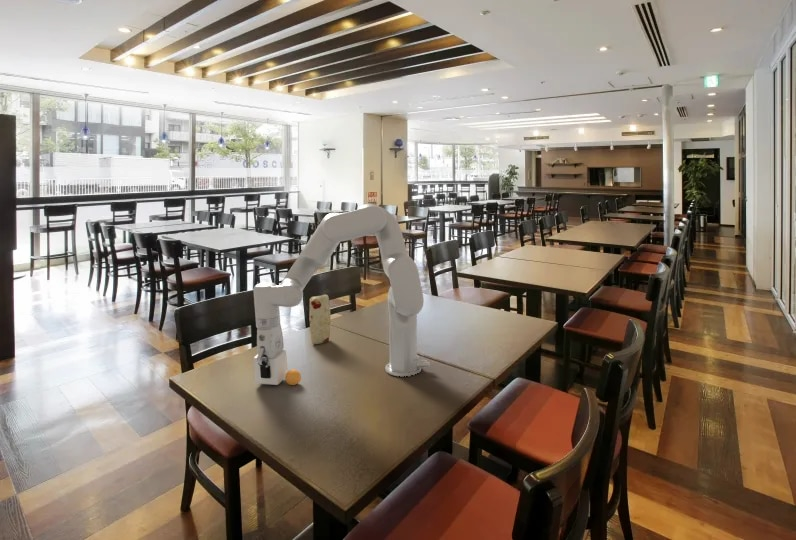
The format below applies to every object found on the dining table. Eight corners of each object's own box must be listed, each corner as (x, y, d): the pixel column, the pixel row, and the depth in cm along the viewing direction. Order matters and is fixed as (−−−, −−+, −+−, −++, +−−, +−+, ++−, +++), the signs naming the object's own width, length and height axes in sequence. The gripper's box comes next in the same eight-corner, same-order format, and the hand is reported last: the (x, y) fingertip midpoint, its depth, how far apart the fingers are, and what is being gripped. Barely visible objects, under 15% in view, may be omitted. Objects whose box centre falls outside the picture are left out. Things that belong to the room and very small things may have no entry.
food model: (317, 347, 182) (315, 298, 178) (306, 343, 187) (303, 296, 183) (335, 340, 190) (333, 294, 186) (324, 337, 194) (322, 291, 190)
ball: (286, 372, 152) (296, 383, 152) (279, 378, 147) (289, 390, 148) (296, 364, 151) (306, 375, 151) (289, 370, 146) (299, 382, 146)
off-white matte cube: (287, 374, 154) (286, 350, 152) (277, 384, 147) (276, 359, 145) (266, 373, 155) (264, 348, 154) (255, 383, 148) (253, 357, 146)
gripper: (266, 330, 138) (270, 384, 141) (290, 313, 155) (293, 362, 158) (243, 329, 139) (248, 383, 143) (269, 313, 156) (272, 361, 159)
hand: (271, 372), depth 150 cm, fingers closed on off-white matte cube, 7 cm apart
